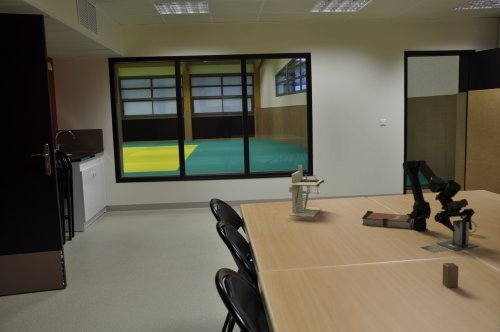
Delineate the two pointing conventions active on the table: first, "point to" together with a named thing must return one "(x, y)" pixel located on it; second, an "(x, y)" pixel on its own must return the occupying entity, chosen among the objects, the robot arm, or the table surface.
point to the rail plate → (449, 245)
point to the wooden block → (450, 275)
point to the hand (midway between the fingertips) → (462, 230)
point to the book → (387, 220)
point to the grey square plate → (434, 248)
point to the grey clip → (461, 233)
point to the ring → (475, 225)
